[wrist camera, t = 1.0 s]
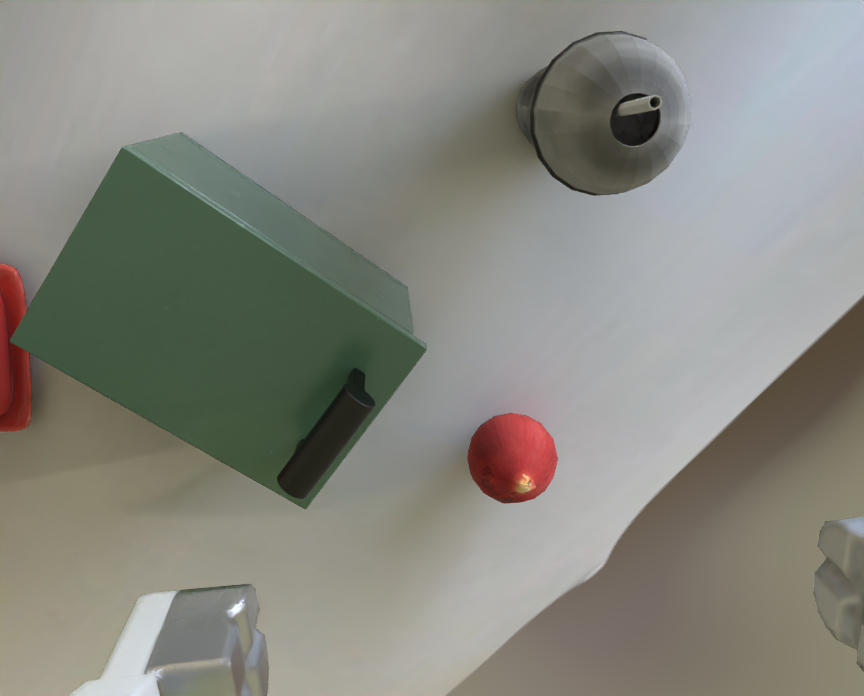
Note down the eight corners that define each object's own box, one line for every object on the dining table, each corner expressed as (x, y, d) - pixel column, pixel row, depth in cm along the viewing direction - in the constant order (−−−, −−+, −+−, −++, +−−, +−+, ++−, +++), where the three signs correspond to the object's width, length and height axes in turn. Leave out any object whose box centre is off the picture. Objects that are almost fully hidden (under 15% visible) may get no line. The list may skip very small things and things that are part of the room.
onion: (514, 481, 53) (536, 547, 46) (447, 447, 52) (458, 508, 45) (559, 418, 52) (589, 474, 44) (490, 381, 51) (510, 433, 43)
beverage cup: (552, 193, 46) (670, 268, 28) (468, 114, 44) (533, 135, 26) (635, 103, 45) (820, 116, 26) (552, 16, 43) (686, -38, 24)
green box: (407, 287, 48) (414, 335, 39) (310, 420, 51) (294, 495, 41) (181, 131, 44) (128, 144, 34) (88, 286, 46) (16, 336, 37)
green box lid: (427, 343, 39) (433, 381, 34) (306, 502, 42) (297, 558, 37) (127, 144, 34) (86, 154, 30) (15, 336, 37) (-40, 374, 32)
